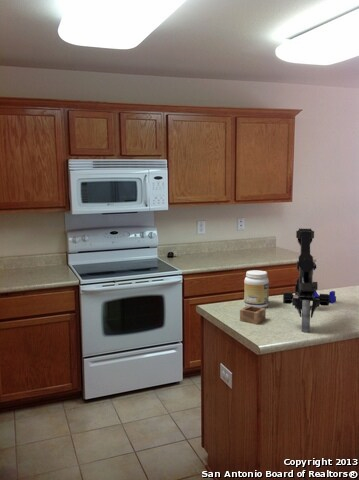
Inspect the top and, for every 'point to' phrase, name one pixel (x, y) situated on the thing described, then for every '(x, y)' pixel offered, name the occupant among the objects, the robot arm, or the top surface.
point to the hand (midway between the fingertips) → (306, 317)
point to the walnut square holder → (252, 314)
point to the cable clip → (332, 296)
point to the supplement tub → (256, 289)
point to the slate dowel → (305, 316)
